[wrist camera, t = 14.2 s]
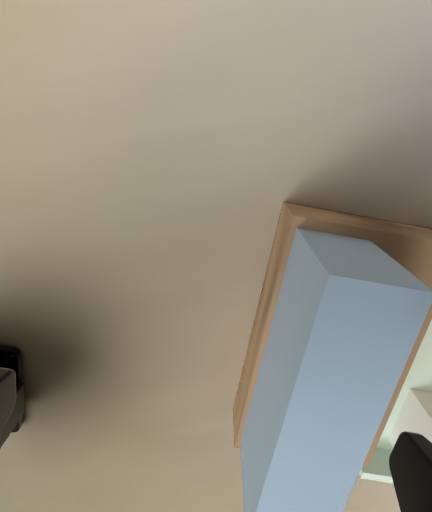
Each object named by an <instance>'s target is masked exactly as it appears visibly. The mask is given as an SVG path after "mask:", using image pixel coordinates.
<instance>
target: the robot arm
mask: <svg viewBox="0 0 432 512" xmlns="http://www.w3.org/2000/svg"><path fill="white" fill-rule="evenodd" d="M10 355H13V356H14V357H11V356H10ZM24 413H25V384H24V382H23V380H22V354H21V352H20V350H18V349H17V348H14V347H9V346H3V345H0V448H1V446H2V445H3V444H4V442H5V441H6V439H7V438H8V436H9V435H10V433H11V432H17V431H18V430H19V429H20V427H21V426H22V416H23V415H24ZM389 468H390V472H391V476H392V480H393V483H394V487H395V491H396V495H397V499H398V502H399V506H400V510H401V512H432V443H431V442H430V441H429V440H428V439H427V438H425V437H424V436H423V435H421V434H418V433H413V432H407V431H404V432H402V433H400V435H399V436H398V439H397V441H396V443H395V445H394V447H393V450H392V452H391V454H390V457H389Z"/></svg>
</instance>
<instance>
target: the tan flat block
mask: <svg viewBox="0 0 432 512" xmlns="http://www.w3.org/2000/svg"><path fill="white" fill-rule="evenodd" d="M296 228H301V229H307V230H313V231H318V232H324V233H329V234H335V235H341V236H346V237H352V238H357V239H363V240H369V241H372V242H373V243H374V244H375V245H377V246H378V247H379V248H380V249H381V250H383V251H384V252H385V253H386V254H388V255H389V256H390V257H391V258H393V259H394V260H395V261H396V262H398V263H399V264H400V265H401V266H403V267H404V268H405V269H406V270H408V271H409V272H410V273H411V274H413V275H414V276H415V277H416V278H418V279H419V280H420V281H421V282H423V283H424V284H425V285H426V286H428V287H429V288H430V289H431V290H432V230H431V229H429V228H424V227H419V226H413V225H408V224H402V223H397V222H391V221H385V220H380V219H374V218H369V217H363V216H358V215H352V214H347V213H341V212H336V211H330V210H325V209H319V208H314V207H308V206H303V205H297V204H292V203H286V202H283V206H282V210H281V214H280V218H279V222H278V227H277V231H276V235H275V239H274V243H273V247H272V251H271V255H270V260H269V264H268V268H267V272H266V276H265V280H264V284H263V288H262V292H261V297H260V301H259V305H258V309H257V313H256V317H255V321H254V325H253V329H252V334H251V338H250V342H249V346H248V350H247V354H246V358H245V362H244V366H243V371H242V375H241V379H240V383H239V387H238V391H237V395H236V399H235V403H234V408H233V421H234V447H238V448H241V442H240V441H241V438H242V434H243V430H244V426H245V422H246V419H247V415H248V411H249V407H250V403H251V399H252V396H253V392H254V388H255V384H256V380H257V377H258V373H259V369H260V365H261V361H262V357H263V354H264V350H265V346H266V342H267V338H268V335H269V331H270V327H271V323H272V319H273V315H274V312H275V308H276V304H277V300H278V296H279V293H280V289H281V285H282V281H283V277H284V273H285V270H286V266H287V262H288V258H289V254H290V250H291V247H292V243H293V239H294V235H295V231H296ZM431 320H432V304H431V306H430V308H429V311H428V313H427V315H426V318H425V320H424V322H423V325H422V327H421V329H420V332H419V334H418V336H417V339H416V341H415V343H414V346H413V348H412V350H411V353H410V355H409V357H408V360H407V362H406V365H405V367H404V369H403V372H402V374H401V376H400V379H399V381H398V383H397V386H396V388H395V390H394V393H393V395H392V397H391V400H390V402H389V404H388V407H387V409H386V411H385V414H384V416H383V418H382V421H381V423H380V425H379V428H378V430H377V433H376V435H375V437H374V440H373V442H372V444H371V447H370V449H369V451H368V454H367V456H366V458H365V461H364V463H363V465H362V467H368V465H369V463H370V460H371V458H372V456H373V453H374V451H375V449H376V446H377V444H378V442H379V439H380V437H381V435H382V433H383V430H384V428H385V426H386V423H387V421H388V419H389V416H390V414H391V412H392V410H393V407H394V405H395V403H396V400H397V398H398V396H399V393H400V391H401V389H402V386H403V384H404V382H405V380H406V377H407V375H408V373H409V370H410V368H411V366H412V363H413V361H414V359H415V357H416V354H417V352H418V350H419V347H420V345H421V343H422V340H423V338H424V336H425V333H426V331H427V329H428V327H429V324H430V322H431Z"/></svg>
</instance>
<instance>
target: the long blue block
mask: <svg viewBox="0 0 432 512" xmlns="http://www.w3.org/2000/svg"><path fill="white" fill-rule="evenodd" d="M431 304H432V290H431V289H430V288H429V287H428V286H426V285H425V284H424V283H423V282H421V281H420V280H419V279H418V278H416V277H415V276H414V275H413V274H411V273H410V272H409V271H408V270H406V269H405V268H404V267H403V266H401V265H400V264H399V263H398V262H396V261H395V260H394V259H393V258H391V257H390V256H389V255H388V254H386V253H385V252H384V251H383V250H381V249H380V248H379V247H378V246H377V245H375V244H374V243H373V242H372V241H369V240H363V239H357V238H352V237H346V236H341V235H335V234H329V233H324V232H318V231H313V230H307V229H301V228H296V231H295V235H294V239H293V243H292V247H291V250H290V254H289V258H288V262H287V266H286V270H285V273H284V277H283V281H282V285H281V289H280V293H279V296H278V300H277V304H276V308H275V312H274V315H273V319H272V323H271V327H270V331H269V335H268V338H267V342H266V346H265V350H264V354H263V357H262V361H261V365H260V369H259V373H258V377H257V380H256V384H255V388H254V392H253V396H252V399H251V403H250V407H249V411H248V415H247V419H246V422H245V426H244V430H243V434H242V438H241V441H240V442H241V462H242V482H243V502H244V512H343V510H344V508H345V505H346V503H347V501H348V498H349V496H350V494H351V491H352V489H353V486H354V484H355V482H356V479H357V477H358V475H359V472H360V470H361V468H362V465H363V463H364V461H365V458H366V456H367V454H368V451H369V449H370V447H371V444H372V442H373V440H374V437H375V435H376V433H377V430H378V428H379V425H380V423H381V421H382V418H383V416H384V414H385V411H386V409H387V407H388V404H389V402H390V400H391V397H392V395H393V393H394V390H395V388H396V386H397V383H398V381H399V379H400V376H401V374H402V372H403V369H404V367H405V365H406V362H407V360H408V357H409V355H410V353H411V350H412V348H413V346H414V343H415V341H416V339H417V336H418V334H419V332H420V329H421V327H422V325H423V322H424V320H425V318H426V315H427V313H428V311H429V308H430V306H431Z"/></svg>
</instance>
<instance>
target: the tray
mask: <svg viewBox="0 0 432 512" xmlns="http://www.w3.org/2000/svg"><path fill="white" fill-rule="evenodd" d="M410 389H416V390H422V391H427V392H432V320H431V322H430V324H429V327H428V329H427V331H426V333H425V336H424V338H423V340H422V343H421V345H420V347H419V350H418V352H417V354H416V357H415V359H414V361H413V363H412V366H411V368H410V370H409V373H408V375H407V377H406V380H405V382H404V384H403V386H402V389H401V391H400V393H399V396H398V398H397V400H396V403H395V405H394V407H393V410H392V412H391V414H390V416H389V419H388V421H387V423H386V426H385V428H384V430H383V433H382V435H381V437H380V439H379V442H378V444H377V446H376V449H375V451H374V453H373V456H372V458H371V460H370V463H369V465H368V467H362V468H361V470H360V472H359V475H360V478H361V479H368V480H374V481H381V482H388V483H393V480H392V476H391V472H390V468H389V457H390V454H391V452H392V450H393V446H392V444H391V442H390V441H389V439H388V435H389V433H390V431H391V428H392V426H393V424H394V422H395V420H396V418H397V415H398V413H399V411H400V409H401V407H402V405H403V402H404V400H405V398H406V396H407V394H408V392H409V390H410Z"/></svg>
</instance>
